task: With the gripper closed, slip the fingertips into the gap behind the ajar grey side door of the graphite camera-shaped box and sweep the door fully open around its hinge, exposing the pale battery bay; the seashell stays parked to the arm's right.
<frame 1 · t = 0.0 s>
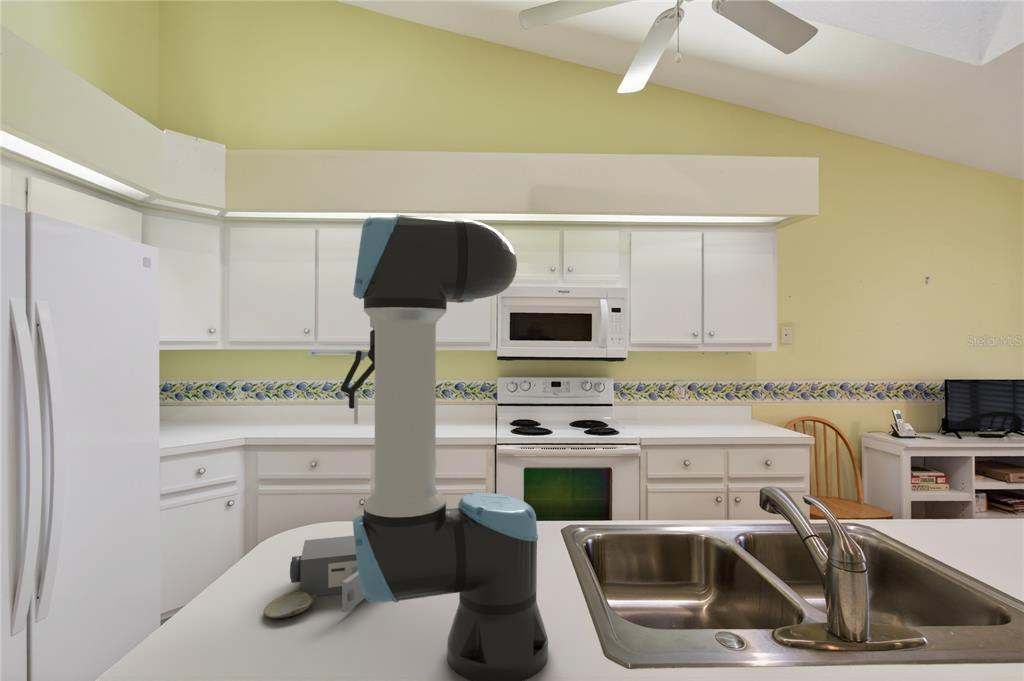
hand: (386, 421, 126), 28 cm above the counter, fingers open, 13 cm apart
side door: (363, 583, 98), point 4 cm above the counter, hinge at 55.0°
seashell: (289, 614, 95), on the counter
camera body: (346, 581, 106), on the counter
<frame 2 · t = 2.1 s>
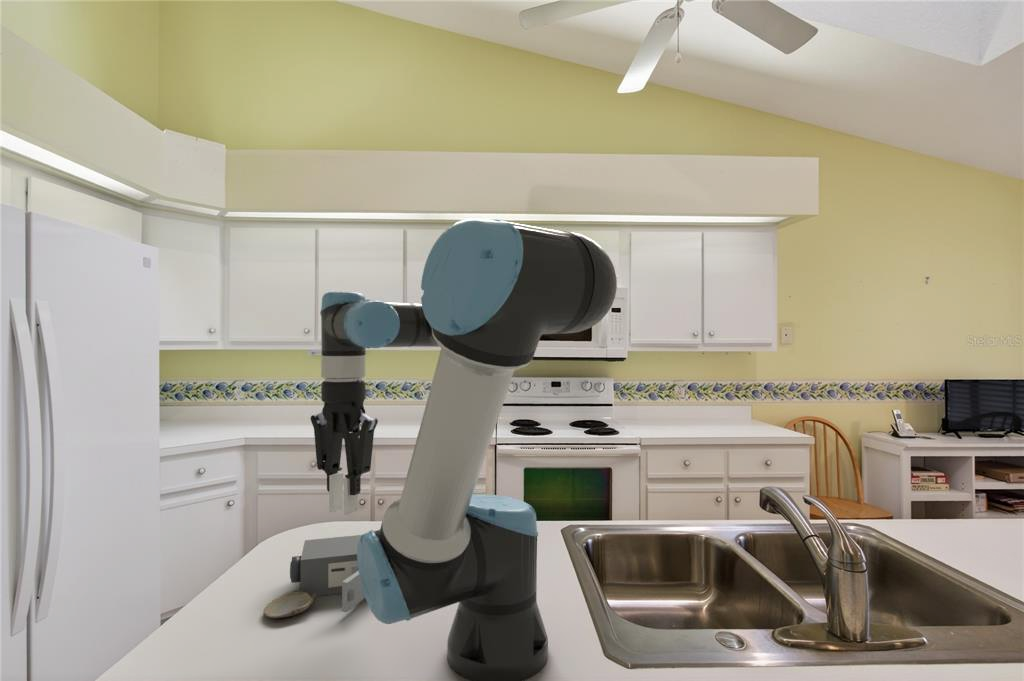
hand: (343, 511, 97), 17 cm above the counter, fingers open, 3 cm apart
nothing on the counter moved.
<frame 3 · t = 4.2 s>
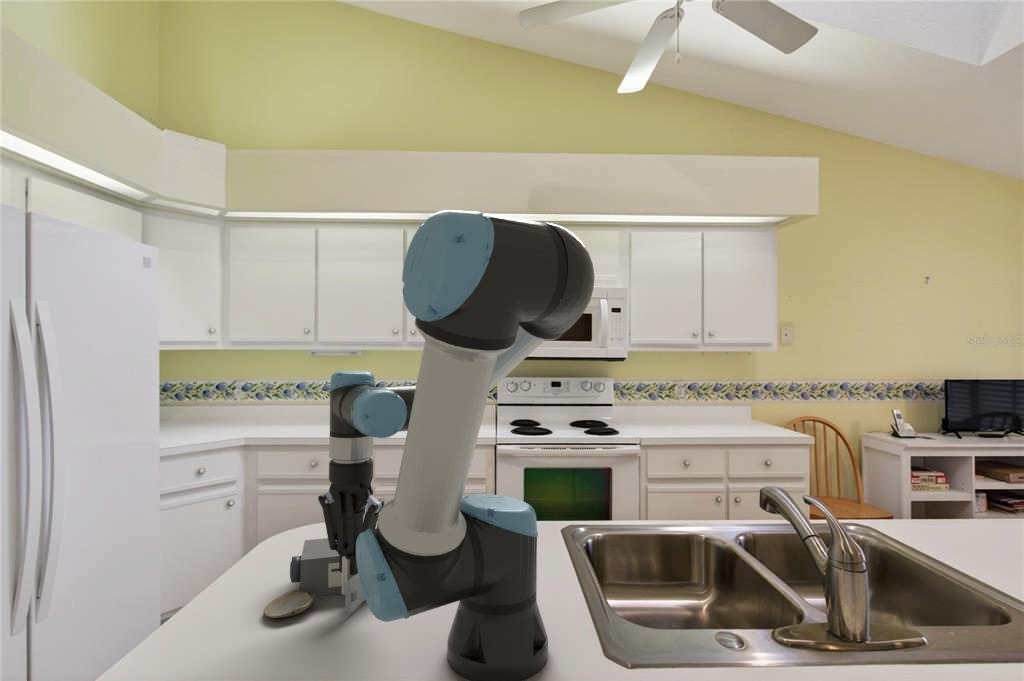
hand: (349, 591, 97), 2 cm above the counter, fingers closed
side door: (365, 583, 98), point 3 cm above the counter, hinge at 58.8°, touching gripper
everything else where it was.
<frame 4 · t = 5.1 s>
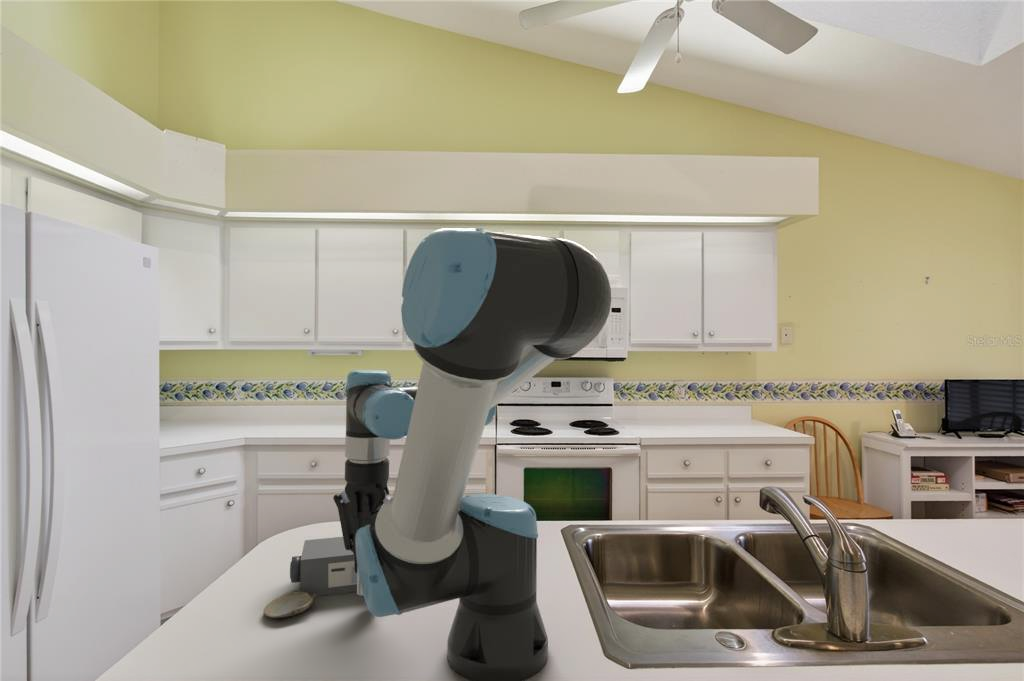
hand: (364, 591, 96), 3 cm above the counter, fingers closed
side door: (376, 583, 98), point 3 cm above the counter, hinge at 83.6°, touching gripper
everything else where it was.
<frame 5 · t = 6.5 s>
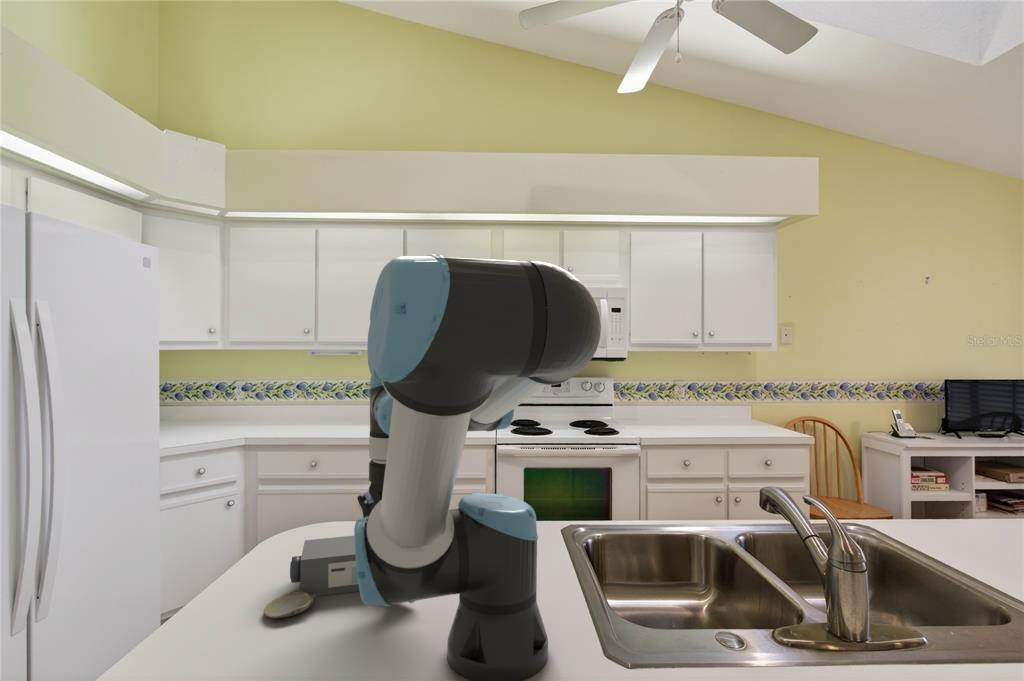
hand: (389, 591, 97), 2 cm above the counter, fingers closed
side door: (394, 579, 99), point 3 cm above the counter, hinge at 125.4°, touching gripper
everything else where it was.
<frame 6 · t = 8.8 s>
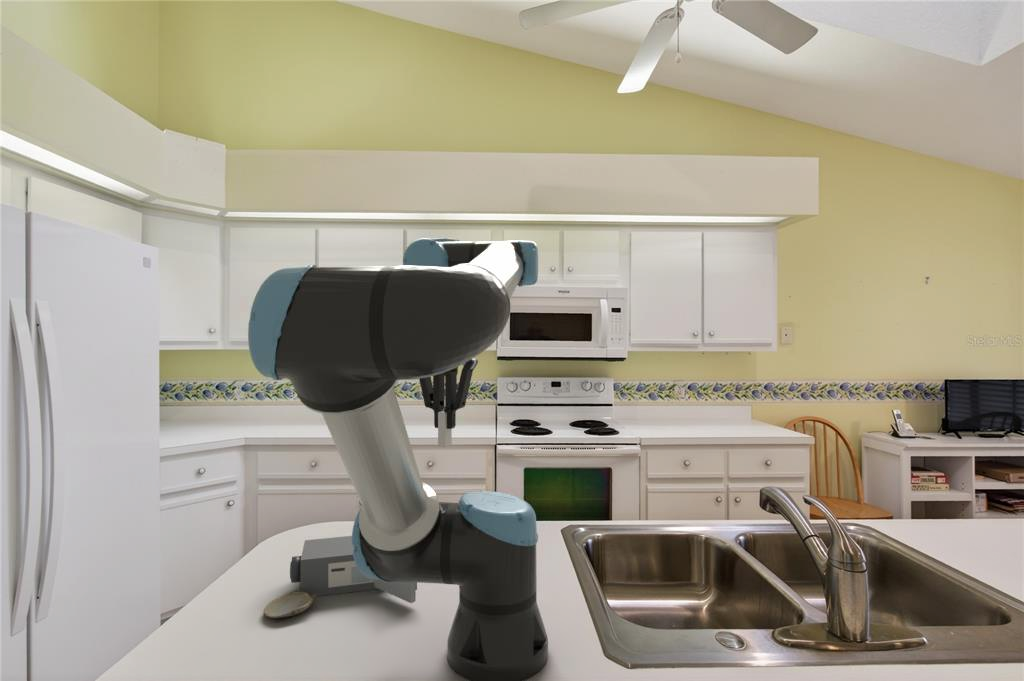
hand: (444, 445, 104), 27 cm above the counter, fingers closed
side door: (394, 579, 99), point 3 cm above the counter, hinge at 125.4°
everything else where it was.
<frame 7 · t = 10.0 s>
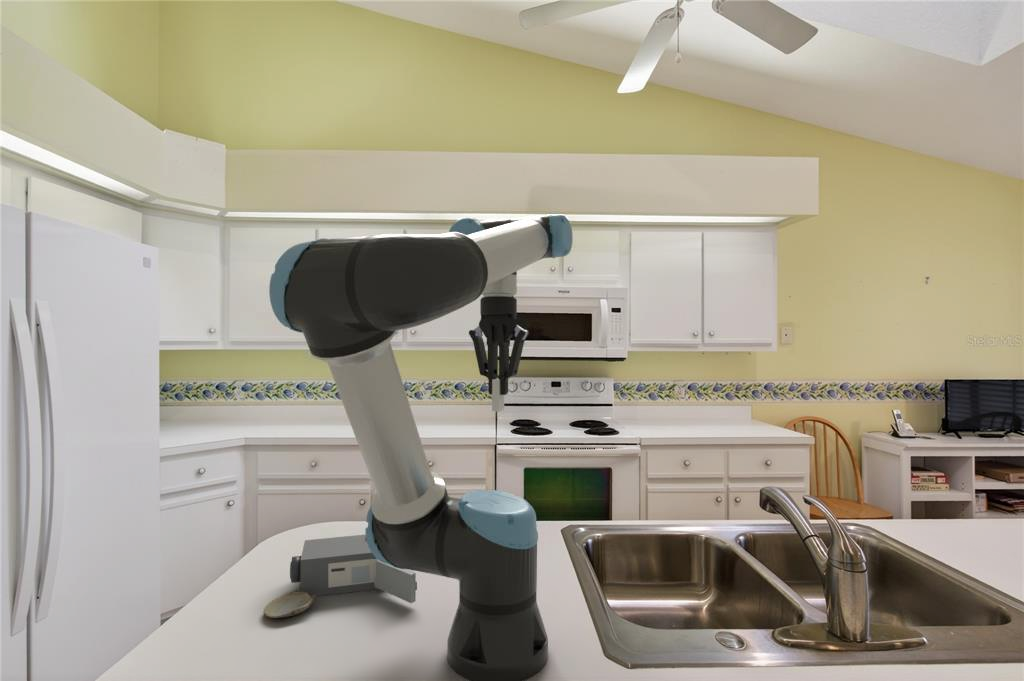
hand: (498, 410, 113), 32 cm above the counter, fingers closed
nothing on the counter moved.
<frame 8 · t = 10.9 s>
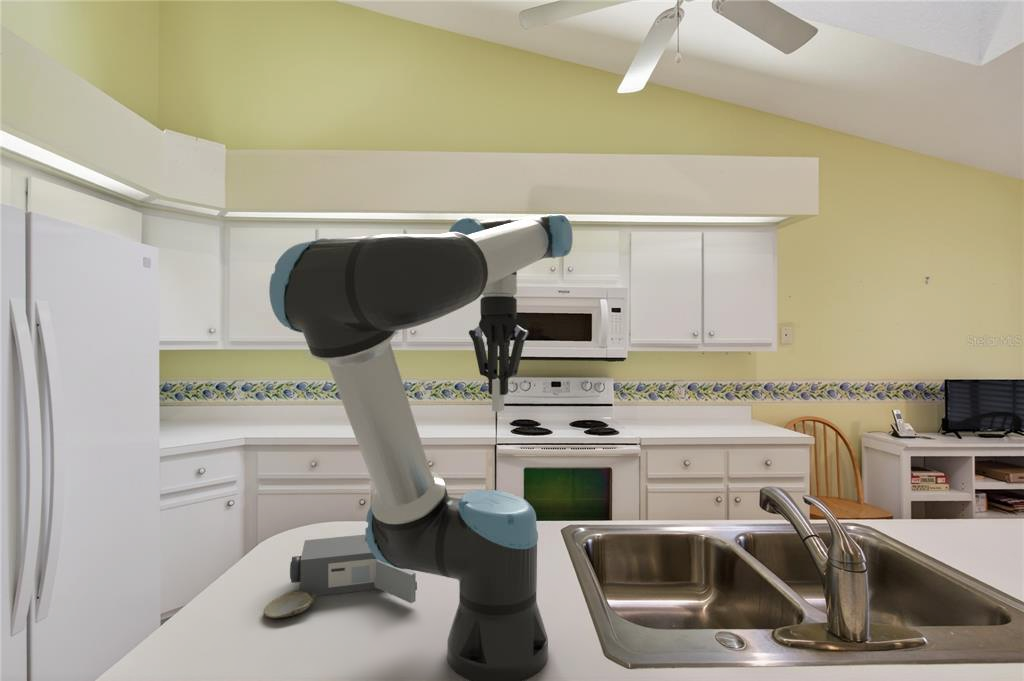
hand: (498, 410, 113), 32 cm above the counter, fingers closed
nothing on the counter moved.
at the end: side door at +125° (first picture: +55°) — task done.
